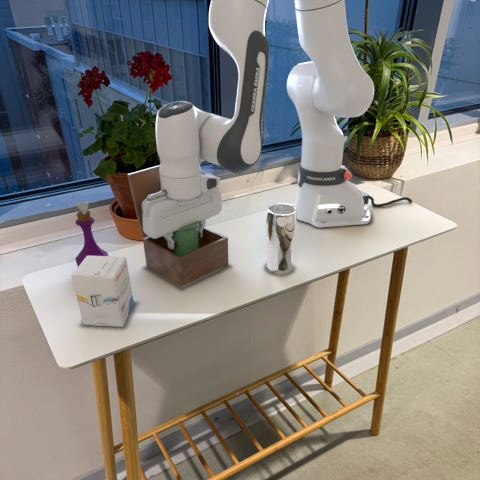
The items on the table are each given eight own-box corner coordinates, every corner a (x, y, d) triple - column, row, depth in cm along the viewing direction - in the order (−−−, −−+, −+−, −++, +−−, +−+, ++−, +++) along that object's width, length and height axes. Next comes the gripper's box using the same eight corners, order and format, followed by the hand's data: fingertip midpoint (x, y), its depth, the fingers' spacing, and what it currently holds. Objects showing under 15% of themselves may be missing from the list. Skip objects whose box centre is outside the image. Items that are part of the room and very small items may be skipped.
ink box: (96, 301, 104) (86, 253, 98) (134, 303, 104) (127, 255, 97) (81, 325, 98) (69, 275, 91) (122, 328, 97) (113, 277, 90)
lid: (181, 159, 113) (179, 159, 113) (129, 174, 105) (127, 174, 105) (191, 218, 119) (189, 218, 120) (143, 237, 111) (141, 236, 112)
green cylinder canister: (202, 258, 119) (200, 216, 112) (199, 271, 113) (197, 228, 107) (175, 257, 119) (171, 216, 112) (171, 271, 114) (167, 228, 107)
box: (228, 266, 117) (227, 237, 112) (181, 289, 109) (179, 258, 104) (192, 248, 124) (190, 220, 120) (146, 267, 116) (142, 238, 112)
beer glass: (292, 277, 113) (296, 216, 104) (262, 274, 114) (264, 214, 105) (295, 262, 118) (299, 204, 109) (267, 260, 119) (269, 202, 110)
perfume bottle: (77, 270, 115) (61, 198, 105) (109, 264, 118) (96, 192, 107) (82, 285, 110) (65, 210, 99) (115, 278, 112) (102, 205, 102)
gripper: (150, 201, 97) (157, 262, 105) (225, 176, 108) (226, 233, 117) (132, 193, 101) (140, 252, 109) (206, 170, 112) (209, 225, 120)
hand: (185, 242), depth 113 cm, fingers closed on green cylinder canister, 6 cm apart
